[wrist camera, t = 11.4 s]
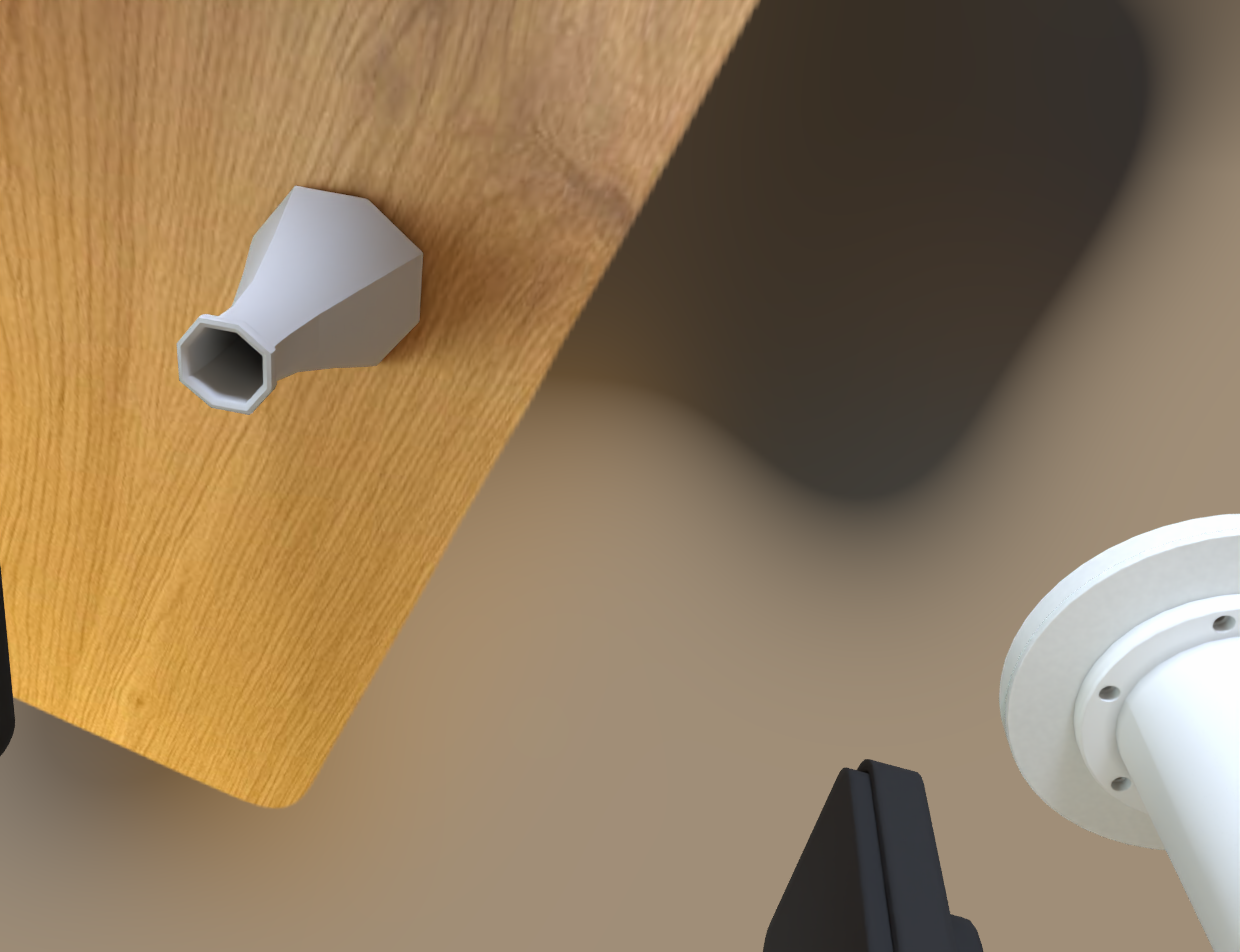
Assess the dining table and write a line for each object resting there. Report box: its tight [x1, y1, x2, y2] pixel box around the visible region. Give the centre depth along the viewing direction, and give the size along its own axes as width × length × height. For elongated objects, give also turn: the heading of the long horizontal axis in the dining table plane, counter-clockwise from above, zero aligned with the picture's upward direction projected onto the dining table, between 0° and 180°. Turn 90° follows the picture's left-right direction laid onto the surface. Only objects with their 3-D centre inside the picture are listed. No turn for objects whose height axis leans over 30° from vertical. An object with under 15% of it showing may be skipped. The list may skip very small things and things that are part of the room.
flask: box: [177, 186, 423, 415], centre depth 35 cm, size 7×7×10 cm
